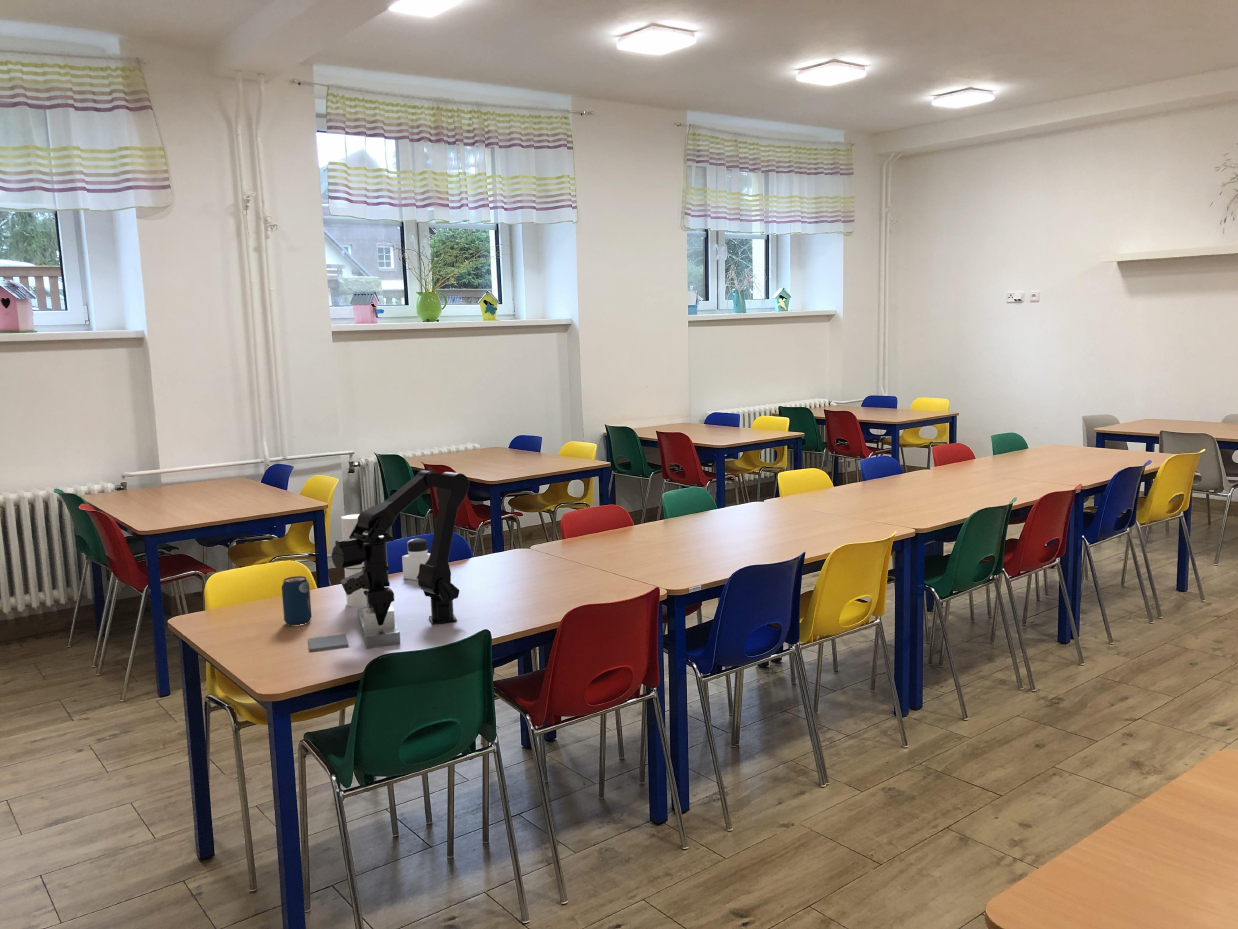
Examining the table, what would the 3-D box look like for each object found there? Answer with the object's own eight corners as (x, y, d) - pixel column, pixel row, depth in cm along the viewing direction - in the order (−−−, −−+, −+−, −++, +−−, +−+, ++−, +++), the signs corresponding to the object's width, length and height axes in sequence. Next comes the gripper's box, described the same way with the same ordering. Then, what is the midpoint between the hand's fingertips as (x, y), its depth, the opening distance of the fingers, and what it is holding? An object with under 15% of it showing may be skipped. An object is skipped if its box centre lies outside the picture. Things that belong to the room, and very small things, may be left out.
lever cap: (364, 624, 240) (363, 609, 240) (392, 621, 243) (391, 605, 242) (366, 630, 236) (365, 614, 235) (395, 626, 238) (394, 610, 237)
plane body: (357, 619, 255) (356, 594, 254) (388, 616, 258) (386, 590, 257) (366, 648, 231) (365, 620, 230) (400, 644, 233) (398, 616, 232)
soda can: (316, 622, 254) (313, 578, 252) (292, 628, 249) (288, 583, 247) (304, 617, 259) (301, 574, 257) (279, 623, 254) (276, 579, 252)
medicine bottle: (435, 575, 301) (433, 538, 299) (419, 581, 295) (417, 542, 293) (419, 573, 304) (417, 536, 303) (402, 578, 299) (400, 540, 297)
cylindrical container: (377, 602, 272) (372, 515, 268) (355, 608, 266) (349, 519, 263) (364, 598, 276) (358, 513, 273) (342, 603, 271) (336, 517, 268)
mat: (308, 640, 238) (308, 638, 238) (345, 636, 241) (345, 633, 241) (309, 651, 230) (309, 649, 230) (348, 646, 233) (348, 644, 233)
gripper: (339, 556, 243) (343, 616, 245) (344, 573, 225) (348, 637, 228) (384, 552, 247) (387, 611, 249) (392, 568, 229) (396, 631, 231)
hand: (379, 622), depth 239 cm, fingers closed on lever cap, 5 cm apart
